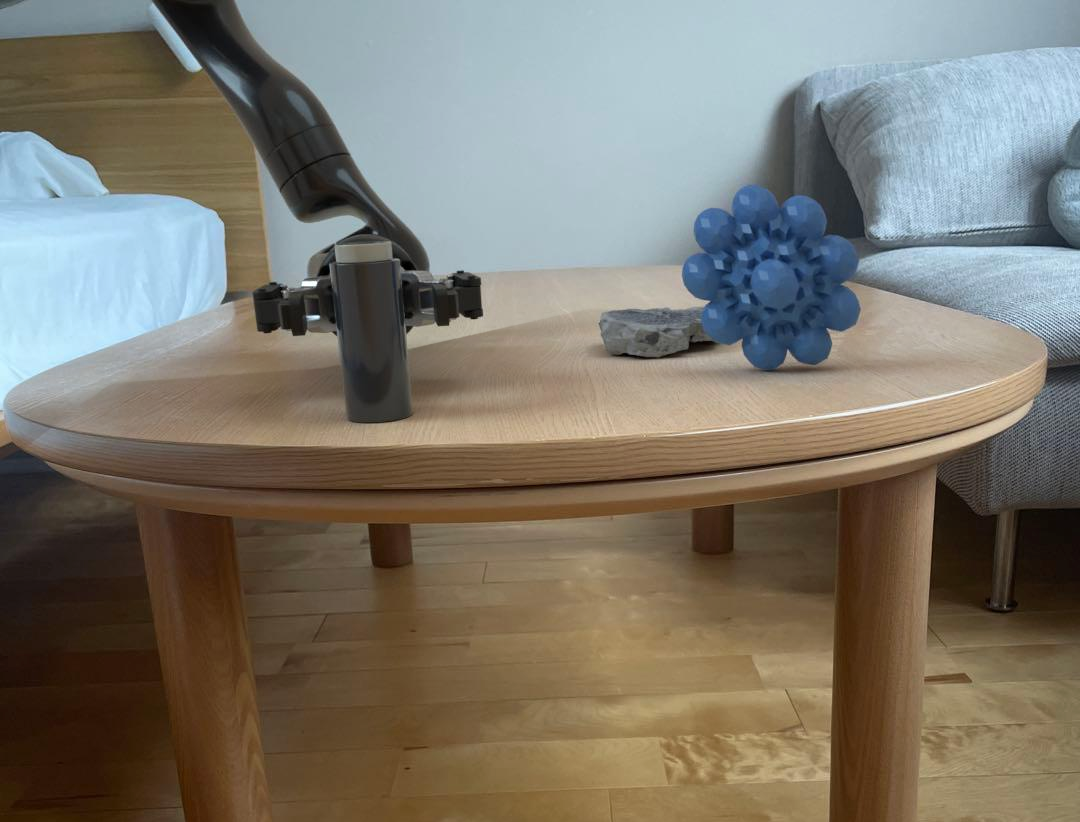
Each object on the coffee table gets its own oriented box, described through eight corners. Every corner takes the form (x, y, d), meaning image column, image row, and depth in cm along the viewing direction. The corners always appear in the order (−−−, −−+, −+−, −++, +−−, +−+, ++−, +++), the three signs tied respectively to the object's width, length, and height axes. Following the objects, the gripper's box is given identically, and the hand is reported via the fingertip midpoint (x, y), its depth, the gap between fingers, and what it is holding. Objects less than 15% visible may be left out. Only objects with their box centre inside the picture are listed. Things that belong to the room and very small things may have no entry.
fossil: (684, 321, 74) (569, 289, 79) (671, 377, 76) (559, 342, 81) (749, 317, 84) (642, 288, 88) (736, 366, 85) (632, 336, 90)
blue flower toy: (681, 384, 68) (680, 189, 64) (682, 365, 74) (681, 187, 70) (867, 380, 66) (878, 179, 62) (852, 361, 72) (861, 178, 68)
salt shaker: (345, 425, 61) (326, 246, 57) (346, 411, 64) (328, 243, 61) (414, 419, 61) (399, 242, 58) (411, 406, 65) (397, 239, 62)
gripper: (262, 240, 74) (236, 254, 59) (462, 229, 76) (486, 239, 61) (276, 347, 77) (255, 385, 62) (469, 333, 79) (494, 367, 63)
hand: (370, 313), depth 61 cm, fingers open, 8 cm apart
